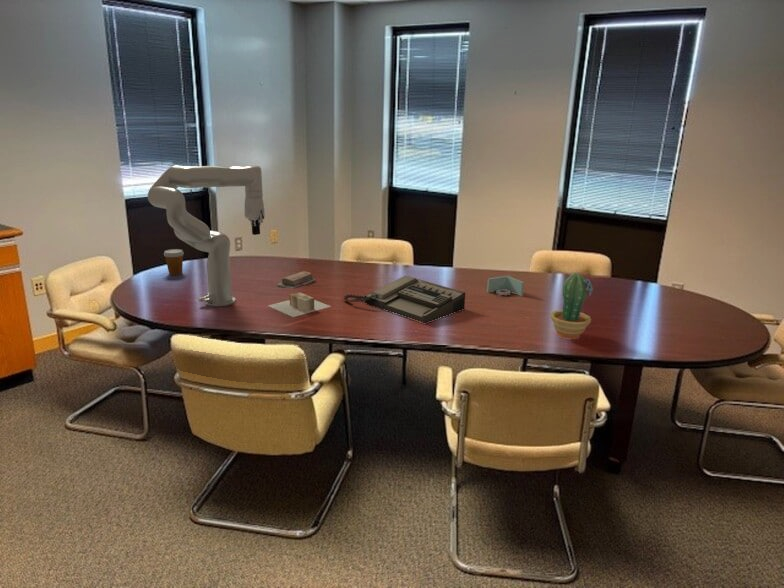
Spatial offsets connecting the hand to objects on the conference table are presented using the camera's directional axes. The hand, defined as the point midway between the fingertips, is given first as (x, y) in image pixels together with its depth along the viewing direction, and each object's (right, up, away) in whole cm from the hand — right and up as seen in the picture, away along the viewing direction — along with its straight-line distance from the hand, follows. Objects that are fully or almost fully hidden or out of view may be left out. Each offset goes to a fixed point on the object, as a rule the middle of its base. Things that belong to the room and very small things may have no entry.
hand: (256, 234), depth 257 cm
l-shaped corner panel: (+116, -28, +11) cm, 120 cm away
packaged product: (+15, -23, +20) cm, 34 cm away
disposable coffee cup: (-49, -17, +32) cm, 61 cm away
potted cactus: (+131, -44, -38) cm, 144 cm away
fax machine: (+66, -33, -8) cm, 74 cm away
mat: (+22, -33, -13) cm, 42 cm away
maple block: (+20, -30, -12) cm, 37 cm away
